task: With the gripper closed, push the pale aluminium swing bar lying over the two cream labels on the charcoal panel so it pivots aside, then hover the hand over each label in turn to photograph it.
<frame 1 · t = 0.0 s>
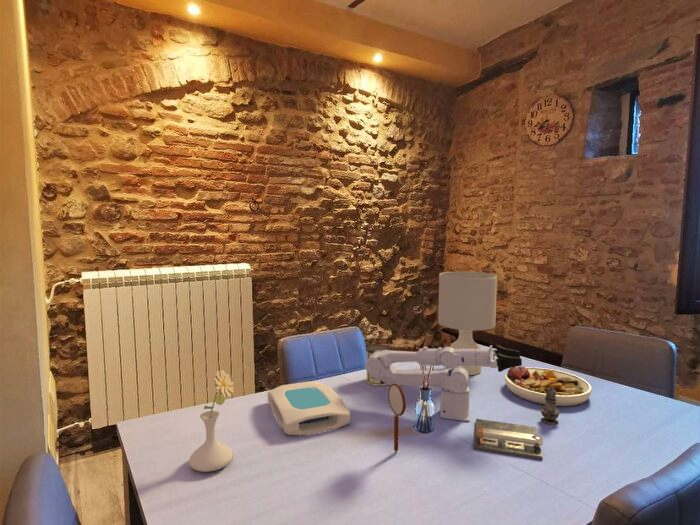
hand: (520, 358, 137), 22 cm above the table, tool horizontal, fingers open, 7 cm apart
label panel: (506, 439, 129), on the table
grey tall carved piece: (549, 421, 141), on the table
swing arm: (509, 436, 125), point 3 cm above the table, hinge at 0.0°
coffee can: (378, 381, 176), on the table
bowl: (546, 393, 165), on the table
document scanner: (306, 415, 146), on the table
lamp: (465, 370, 190), on the table
flower in vase: (213, 463, 116), on the table
magnifying glass: (396, 453, 121), on the table
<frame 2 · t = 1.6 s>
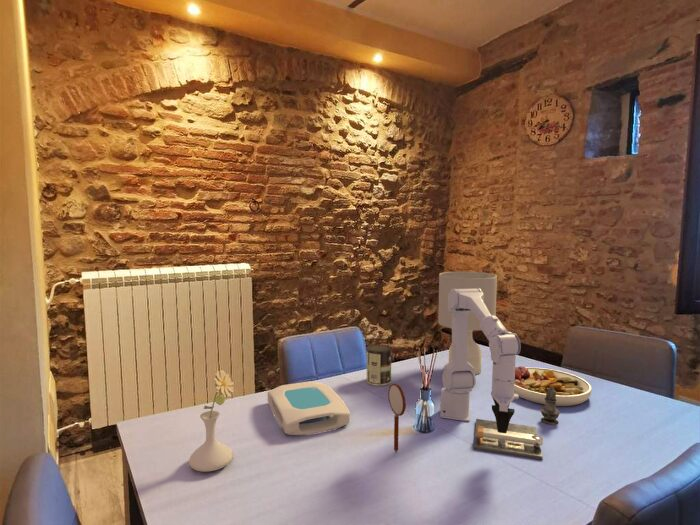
hand: (501, 426, 117), 9 cm above the table, tool pointing down, fingers open, 7 cm apart
nothing on the table moved.
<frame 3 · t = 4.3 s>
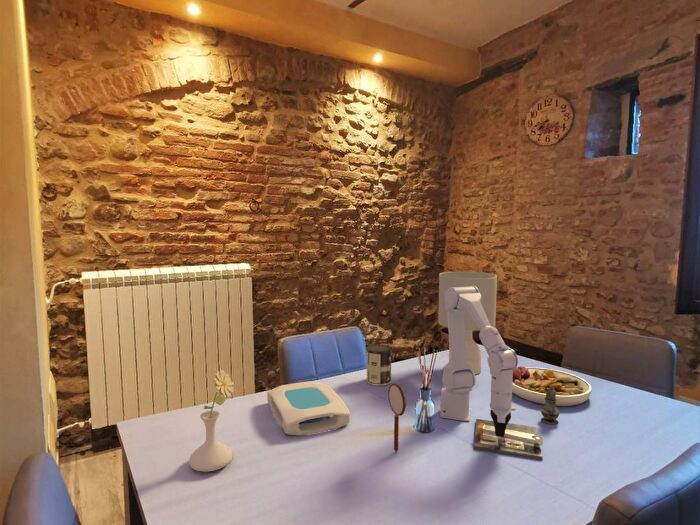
hand: (499, 435, 125), 3 cm above the table, tool pointing down, fingers closed, pressing on swing arm
swing arm: (509, 434, 126), point 3 cm above the table, hinge at -8.5°, touching gripper
everything else where it was.
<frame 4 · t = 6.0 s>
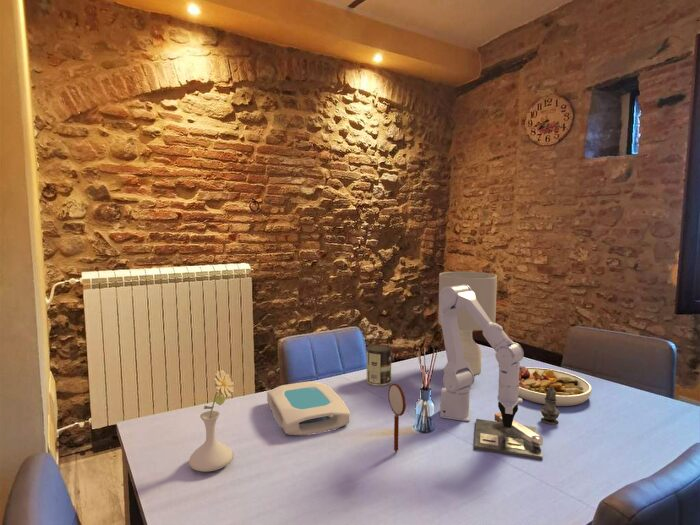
hand: (507, 427, 130), 3 cm above the table, tool pointing down, fingers closed, pressing on swing arm
swing arm: (518, 428, 129), point 3 cm above the table, hinge at -52.5°, touching gripper
everything else where it was.
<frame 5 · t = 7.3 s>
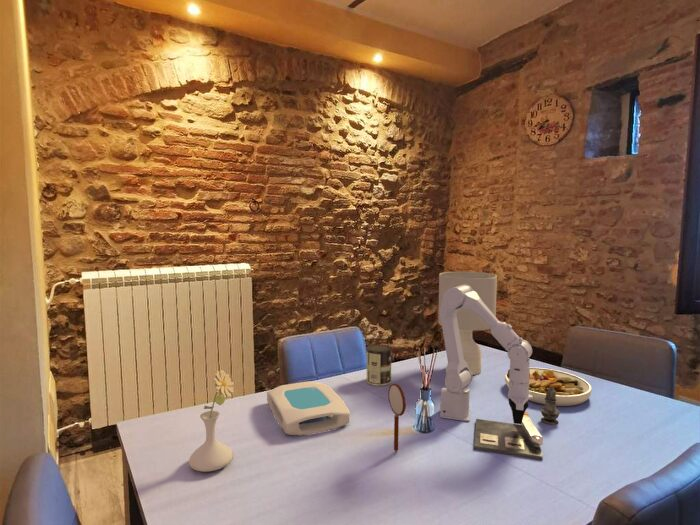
hand: (517, 423, 133), 3 cm above the table, tool pointing down, fingers closed, pressing on swing arm
swing arm: (529, 427, 130), point 3 cm above the table, hinge at -79.0°, touching gripper
everything else where it was.
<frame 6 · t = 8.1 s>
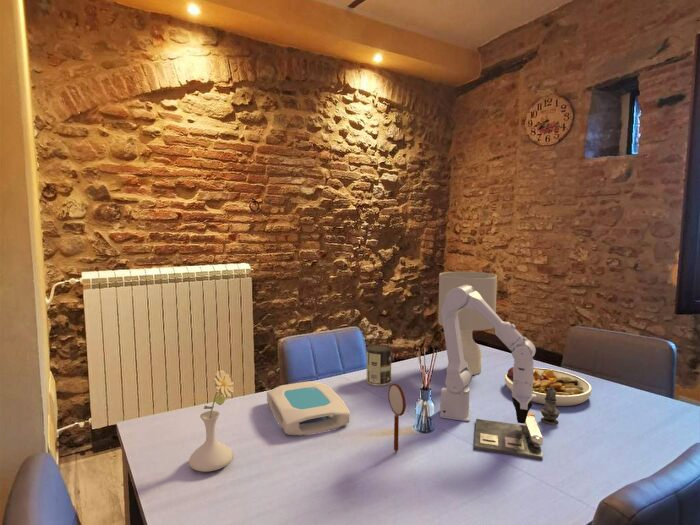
hand: (521, 422, 134), 3 cm above the table, tool pointing down, fingers closed, pressing on swing arm
swing arm: (532, 428, 130), point 3 cm above the table, hinge at -85.8°, touching gripper
everything else where it was.
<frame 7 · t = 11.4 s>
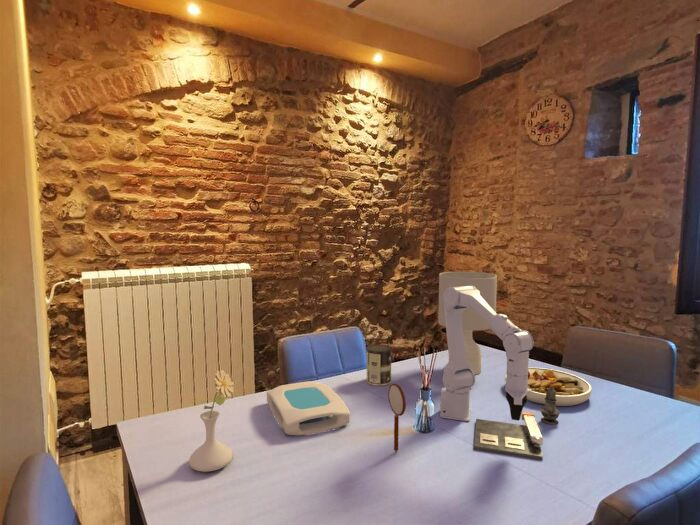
hand: (515, 419, 124), 8 cm above the table, tool pointing down, fingers closed
swing arm: (532, 428, 130), point 3 cm above the table, hinge at -85.8°
everything else where it was.
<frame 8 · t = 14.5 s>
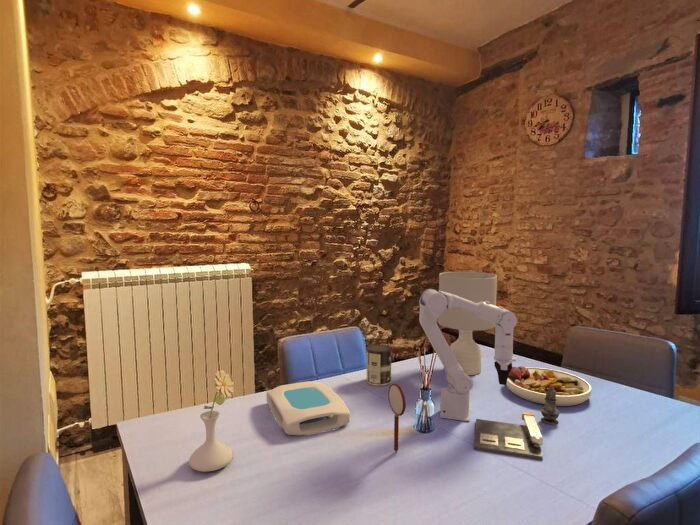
hand: (502, 383, 145), 10 cm above the table, tool pointing down, fingers closed
nothing on the table moved.
at the end: swing arm at -86° (first picture: +0°); grey tall carved piece moved 0.2 cm from its start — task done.
